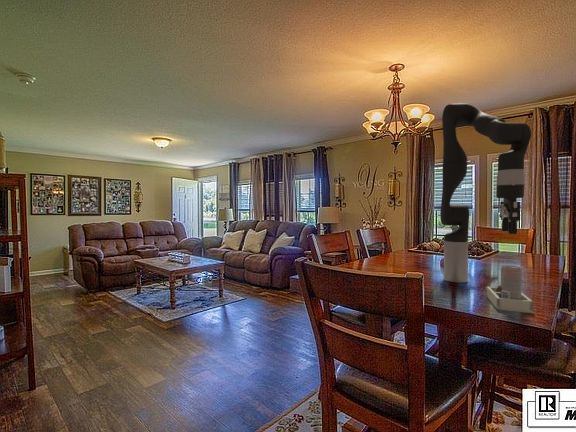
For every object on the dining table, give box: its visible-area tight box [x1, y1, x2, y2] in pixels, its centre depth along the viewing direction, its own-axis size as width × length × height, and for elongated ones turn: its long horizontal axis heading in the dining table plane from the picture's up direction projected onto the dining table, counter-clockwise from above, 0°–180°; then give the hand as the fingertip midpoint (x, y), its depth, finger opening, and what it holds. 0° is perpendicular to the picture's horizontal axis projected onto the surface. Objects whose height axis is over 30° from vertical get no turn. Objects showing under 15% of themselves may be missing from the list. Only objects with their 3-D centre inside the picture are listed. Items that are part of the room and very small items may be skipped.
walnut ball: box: [496, 284, 501, 293], centre depth 105 cm, size 5×5×5 cm
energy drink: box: [500, 265, 523, 300], centre depth 98 cm, size 5×5×12 cm
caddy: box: [486, 286, 534, 314], centre depth 101 cm, size 16×9×4 cm, turn 157°
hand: (509, 232), depth 104 cm, fingers open, 8 cm apart
